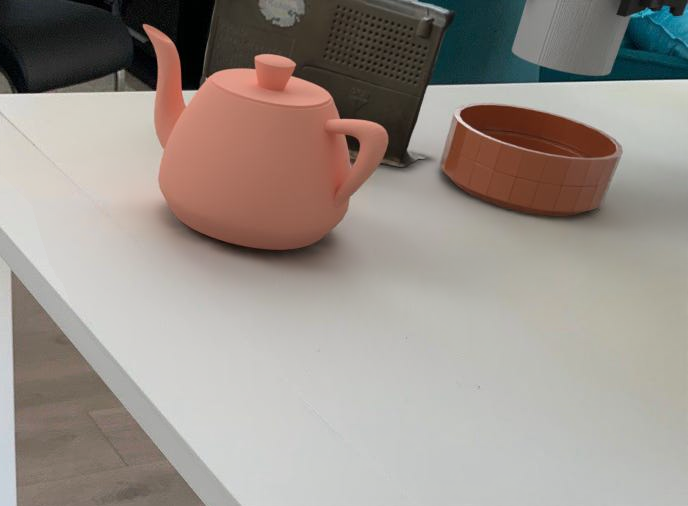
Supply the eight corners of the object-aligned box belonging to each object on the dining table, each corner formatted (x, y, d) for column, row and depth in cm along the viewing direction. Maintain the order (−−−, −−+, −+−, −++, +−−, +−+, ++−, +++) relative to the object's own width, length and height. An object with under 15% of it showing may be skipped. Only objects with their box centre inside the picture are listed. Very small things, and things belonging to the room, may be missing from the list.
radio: (427, 158, 105) (472, -9, 95) (411, 180, 98) (457, 4, 89) (214, 104, 109) (236, -62, 99) (186, 123, 102) (207, -53, 92)
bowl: (615, 194, 105) (638, 137, 101) (577, 235, 93) (601, 172, 90) (467, 149, 109) (484, 93, 106) (414, 182, 98) (430, 121, 94)
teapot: (77, 199, 83) (86, 28, 75) (180, 162, 93) (198, 9, 85) (313, 291, 75) (352, 113, 67) (397, 241, 86) (439, 81, 78)
